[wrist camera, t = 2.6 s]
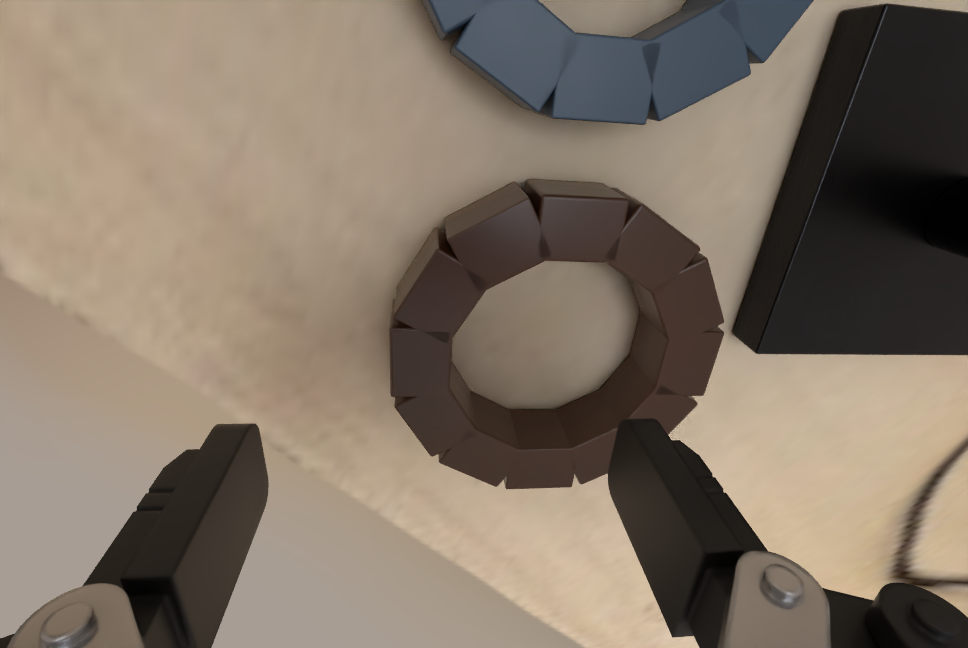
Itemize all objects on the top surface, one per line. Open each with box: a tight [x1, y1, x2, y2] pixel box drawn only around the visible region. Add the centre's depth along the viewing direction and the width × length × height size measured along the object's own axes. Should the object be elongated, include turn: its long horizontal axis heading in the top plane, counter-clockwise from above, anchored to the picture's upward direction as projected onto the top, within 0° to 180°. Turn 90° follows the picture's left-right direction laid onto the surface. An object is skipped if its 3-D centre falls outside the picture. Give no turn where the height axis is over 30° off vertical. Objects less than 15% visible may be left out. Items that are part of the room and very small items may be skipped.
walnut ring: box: [389, 179, 724, 489], centre depth 16 cm, size 10×10×2 cm
